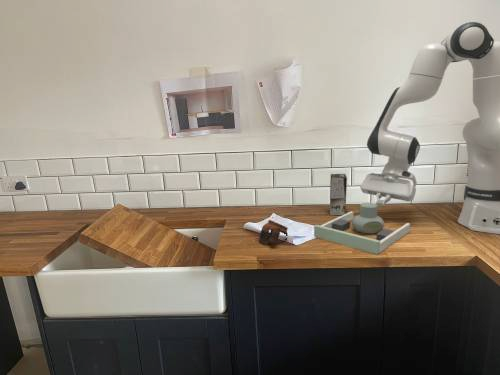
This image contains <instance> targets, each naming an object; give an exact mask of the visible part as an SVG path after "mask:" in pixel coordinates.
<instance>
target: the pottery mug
mask: <svg viewBox="0 0 500 375" xmlns="http://www.w3.org/2000/svg"><path fill="white" fill-rule="evenodd" d="M288 229H289V228H288V227H287V226H285V225H282V224H281V223H279V222H276V221H274V220H271V219H269V220H268V222H267V223H264V224H263V226H262V227H261V229H260V234H259V236H258V237H259V238H258V241H259V242H260V243H262V245H265V246H268V245H269V243H270V244H271V245H272V244H273V245H274V244H277V242H278V238H279V237H280V235H281V233H282V234H283V233H284V234H286V236H289V235H288ZM286 236H285V237H286Z"/></svg>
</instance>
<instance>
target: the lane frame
mask: <svg viewBox="0 0 500 375" xmlns="http://www.w3.org/2000/svg"><path fill="white" fill-rule="evenodd" d="M353 218H354V211H348V212H347V213H345V214H344V215H339V216H337V217H336V218H334V219H331V220H329V221H327V222H325V223H323V224H321V225H319V224H315V225H314V226H313V231H314V232H313V237H315V238H318V239H321V240H325V241H329V242H331V243H332V242H333V243H335V244H340V245H342V246H346V247H350V248H354V249H357V250H360V251H364V252H368V253H371V254H373V255H379V254H380V253H382V251H384V250H386V249H387V248H389V247H390V246H391V245H392V244H394V243H396V242H397V241H398V240H400V239H401V238H403V237H404V236H405V235H406V234H409V232H410V231H411V230H410V229H411V223H409V222H407V223H405V224H403V225H402V226H401V227H399V228H397V229H396V230H394V232H393V233H391V234H390V235H388V236H387V237H385V238H384V239H382V240H381V241H379V240H376V239H375V238H371V237H366V236H362V235H359V234H354V233H352V232H351V233H350V232H348V231H340V230H336V229H332V223H334V222H336V221H338V220H340V219H342V220H346V221H350V222H351V221H352V220H353Z"/></svg>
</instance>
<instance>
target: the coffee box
mask: <svg viewBox="0 0 500 375" xmlns="http://www.w3.org/2000/svg"><path fill="white" fill-rule="evenodd" d="M347 177H348V176H347V175H346V173H330V180H329V181H330V183H329V184H330V188H329V191H330V192H329V214H330V216H342V215H344V214H346V207H347V205H346V204H347V185H348V183H347V180H348V178H347Z"/></svg>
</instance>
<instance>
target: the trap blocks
mask: <svg viewBox="0 0 500 375" xmlns="http://www.w3.org/2000/svg"><path fill="white" fill-rule="evenodd" d="M350 228H351V220H350V221H346V220H342V219H340V220H338V221H336V222H334V223H332V229H336V230H340V231H344V232H346V231H347V230H348V229H350ZM394 231H395V230H394ZM394 231H393V230H390V229H382V230H381V231H379V232H377V233H376V236H375V238H376V239H375V240H379V241H381V240H382V239H384V238H385V237H387V236H388V235H390V234H391V233H393V232H394Z"/></svg>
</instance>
